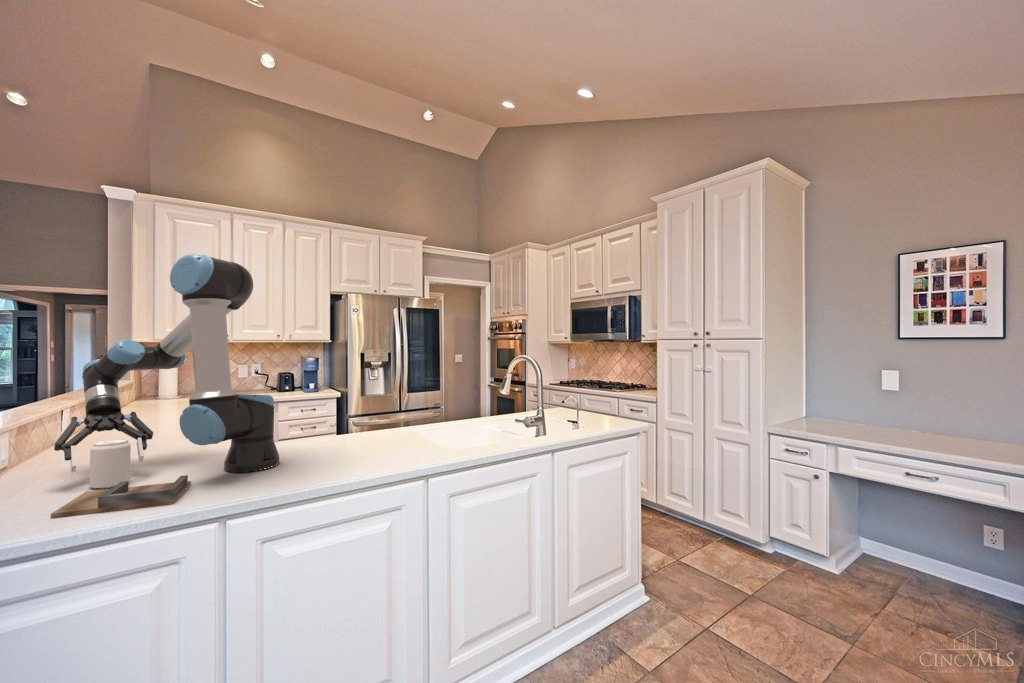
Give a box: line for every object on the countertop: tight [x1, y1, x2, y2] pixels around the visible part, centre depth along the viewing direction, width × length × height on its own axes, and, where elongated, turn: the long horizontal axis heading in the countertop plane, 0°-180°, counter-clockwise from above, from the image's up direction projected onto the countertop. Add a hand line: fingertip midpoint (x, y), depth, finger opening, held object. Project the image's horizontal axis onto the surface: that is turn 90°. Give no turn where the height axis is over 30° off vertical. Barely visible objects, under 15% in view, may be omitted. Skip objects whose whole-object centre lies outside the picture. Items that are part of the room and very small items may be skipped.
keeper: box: [50, 474, 192, 519], centre depth 107 cm, size 22×16×4 cm
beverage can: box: [89, 438, 131, 489], centre depth 118 cm, size 8×8×12 cm
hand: (109, 463), depth 117 cm, fingers open, 13 cm apart
